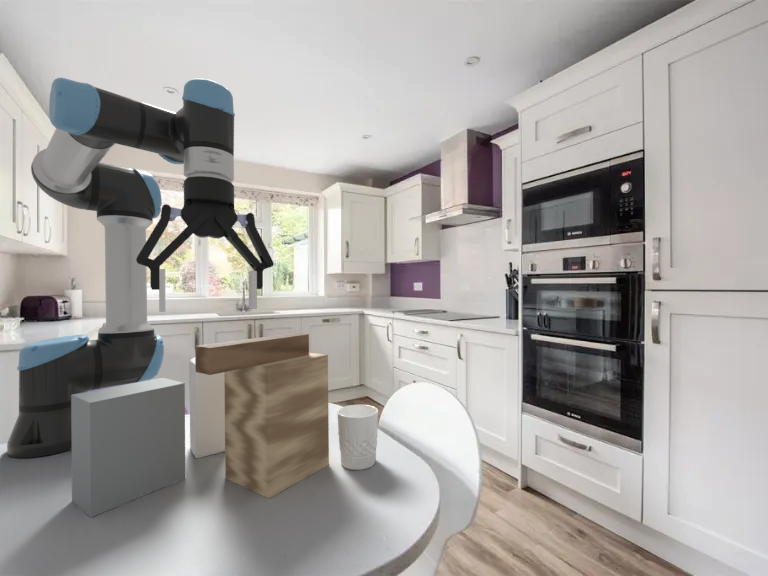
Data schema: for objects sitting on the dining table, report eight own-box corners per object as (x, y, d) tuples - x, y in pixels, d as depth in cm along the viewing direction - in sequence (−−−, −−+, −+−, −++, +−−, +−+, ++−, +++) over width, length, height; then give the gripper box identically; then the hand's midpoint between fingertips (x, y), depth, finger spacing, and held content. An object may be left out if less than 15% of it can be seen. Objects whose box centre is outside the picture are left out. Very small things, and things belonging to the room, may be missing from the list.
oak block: (225, 478, 67) (224, 360, 67) (286, 450, 79) (285, 349, 79) (268, 498, 60) (267, 367, 60) (328, 464, 72) (327, 354, 72)
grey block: (71, 500, 60) (71, 394, 60) (163, 466, 72) (162, 377, 72) (90, 517, 56) (90, 402, 56) (185, 478, 67) (184, 383, 67)
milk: (195, 459, 75) (194, 348, 75) (190, 448, 80) (188, 345, 80) (227, 450, 79) (226, 345, 79) (220, 441, 84) (218, 342, 84)
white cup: (345, 475, 68) (344, 419, 68) (333, 457, 75) (332, 407, 75) (385, 466, 71) (384, 413, 71) (369, 450, 78) (369, 402, 78)
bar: (195, 371, 58) (195, 345, 58) (294, 353, 74) (294, 332, 74) (210, 375, 56) (209, 347, 56) (309, 355, 72) (308, 334, 72)
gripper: (114, 161, 52) (115, 314, 52) (291, 186, 65) (291, 308, 65) (118, 174, 58) (119, 311, 58) (278, 195, 72) (278, 306, 72)
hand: (210, 310), depth 62 cm, fingers open, 13 cm apart
